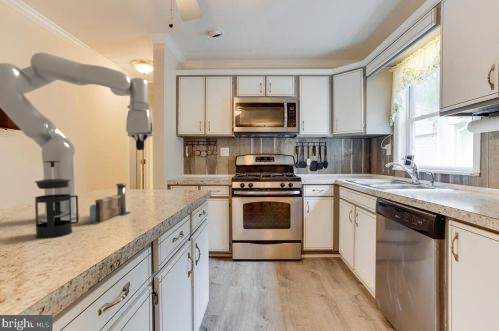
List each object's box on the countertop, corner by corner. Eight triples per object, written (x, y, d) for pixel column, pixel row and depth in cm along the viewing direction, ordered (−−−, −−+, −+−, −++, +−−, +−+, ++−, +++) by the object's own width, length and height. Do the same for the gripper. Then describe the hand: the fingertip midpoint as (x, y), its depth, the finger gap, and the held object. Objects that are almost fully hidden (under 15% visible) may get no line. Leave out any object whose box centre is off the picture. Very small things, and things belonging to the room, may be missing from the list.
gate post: (119, 212, 116) (118, 183, 116) (130, 212, 116) (129, 183, 115) (112, 215, 111) (112, 184, 111) (124, 215, 111) (123, 184, 110)
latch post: (92, 221, 101) (91, 203, 100) (102, 221, 100) (102, 203, 100) (85, 224, 97) (84, 205, 96) (95, 224, 96) (95, 205, 96)
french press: (28, 240, 78) (25, 161, 77) (37, 232, 86) (35, 160, 86) (75, 235, 83) (73, 160, 82) (80, 228, 91) (78, 160, 91)
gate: (117, 213, 112) (117, 194, 112) (121, 213, 112) (120, 194, 111) (95, 221, 97) (95, 200, 97) (100, 221, 97) (99, 200, 97)
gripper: (118, 106, 114) (119, 149, 115) (152, 106, 113) (153, 149, 114) (127, 109, 122) (128, 150, 122) (159, 109, 121) (160, 150, 122)
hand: (140, 149), depth 118 cm, fingers closed
